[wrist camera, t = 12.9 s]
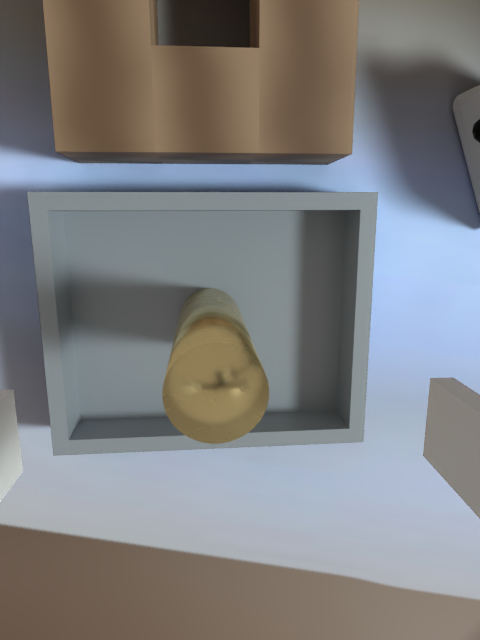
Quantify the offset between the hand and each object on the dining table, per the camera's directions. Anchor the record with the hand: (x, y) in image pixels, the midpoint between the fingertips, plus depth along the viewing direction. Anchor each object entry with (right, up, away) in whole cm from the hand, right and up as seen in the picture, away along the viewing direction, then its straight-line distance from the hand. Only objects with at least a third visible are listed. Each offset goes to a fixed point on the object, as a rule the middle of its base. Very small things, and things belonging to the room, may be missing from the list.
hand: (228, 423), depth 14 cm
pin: (-2, +3, +16) cm, 17 cm away
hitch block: (-2, +21, +13) cm, 25 cm away
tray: (-2, +4, +17) cm, 18 cm away
